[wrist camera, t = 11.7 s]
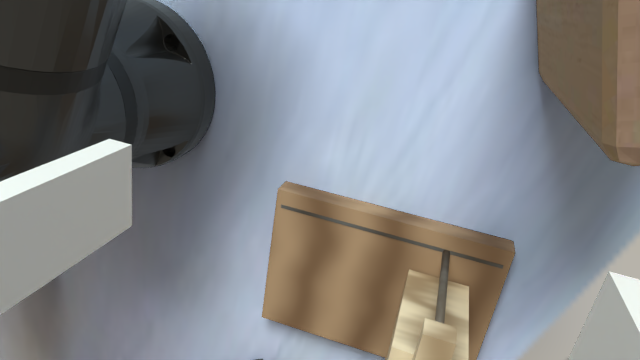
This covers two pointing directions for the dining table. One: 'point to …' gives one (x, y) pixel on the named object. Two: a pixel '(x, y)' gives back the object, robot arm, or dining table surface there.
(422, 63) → the dining table surface
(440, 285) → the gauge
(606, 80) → the wooden block
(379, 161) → the dining table surface
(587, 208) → the dining table surface
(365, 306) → the board
